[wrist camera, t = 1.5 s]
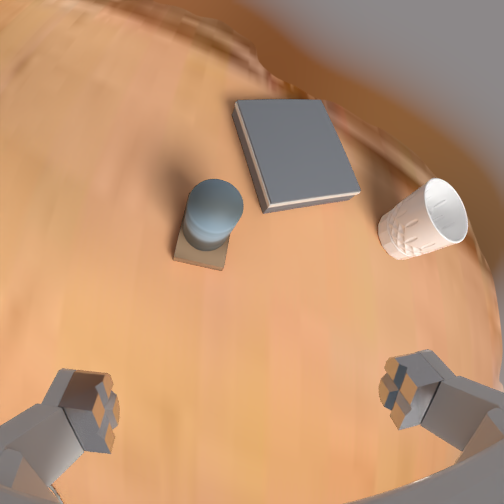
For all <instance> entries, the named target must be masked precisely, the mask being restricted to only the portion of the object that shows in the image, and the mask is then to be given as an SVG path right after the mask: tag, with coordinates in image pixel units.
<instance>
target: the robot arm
mask: <svg viewBox="0 0 504 504" xmlns="http://www.w3.org/2000/svg"><path fill="white" fill-rule="evenodd" d="M385 370H386V372H387V373H386V374H385V375H384V376H383V377H382V378H381V381H380V384H379V397H380V400H381V402H382V404H383V406H384V407H386V408H388V409H390V410H391V413H390V417H391V419H392V420H393V422H394V424H395V425H396V427H397V429H398V430H401V429H405V428H409V427H412V426H416V425H419V424H421V426H422V427H424V428H425V429H427V430H429V431H430V432H432V433H433V434H435V435H436V436H438V437H440V438H441V439H443V440H444V441H446V442H448V443H449V444H451V445H452V446H454V447H456V448H457V449H459V450H460V451H462V452H461V454H460V455H459V457H458V458H457V459H456V461H455V464H454V465H453V466H450V467H448V468H446V469H444V470H442V471H439V472H437V473H435V474H432V475H430V476H427V477H425V478H422V479H420V480H417V481H415V482H412V483H409V484H407V485H404V486H401V487H398V488H395V489H392V490H389V491H386V492H383V493H380V494H377V495H374V496H370V497H367V498H363V499H360V500H356V501H352V502H348V503H344V504H504V393H503V392H500V391H498V390H495V389H492V388H490V387H487V386H485V385H482V384H479V383H477V382H474V381H472V380H469V379H467V378H464V377H462V376H457V377H456V376H455V375H454V373H453V372H452V371H451V370H450V369H449V368H448V367H447V366H446V365H445V364H444V363H443V362H442V361H441V360H440V358H439V357H438V356H437V355H436V354H435V353H434V352H433V351H431V350H429V349H427V350H423V351H418V352H415V353H411V354H406V355H401V356H396V357H390V358H389V359H388V360H387V362H386V365H385ZM112 387H113V381H112V378H111V375H110V374H108V373H101V372H92V371H83V370H72V369H64V368H62V369H60V370H59V371H58V373H57V375H56V377H55V378H54V380H53V382H52V384H51V386H50V388H49V390H48V392H47V394H46V396H45V398H44V399H43V401H42V403H41V404H35V405H34V406H32V407H30V408H29V409H27V410H25V411H24V412H22V413H21V414H19V415H17V416H16V417H14V418H12V419H11V420H9V421H7V422H6V423H4V424H2V425H1V426H0V504H61V503H60V502H59V500H58V499H57V498H56V497H55V495H54V494H53V493H52V492H51V491H50V490H49V488H48V487H49V486H50V485H51V484H52V483H53V482H54V481H55V480H56V479H57V478H58V477H59V476H60V475H61V474H62V473H64V472H65V471H66V470H67V469H68V468H69V467H70V466H71V465H72V464H73V463H74V462H75V461H76V460H77V459H78V458H79V457H80V456H81V455H82V454H83V453H84V451H90V452H98V453H108V454H111V452H112V447H113V443H114V439H115V435H114V433H113V429H114V428H115V427H116V426H117V425H118V422H119V415H120V407H119V401H118V398H117V395H116V394H115V393H114V392H113V391H112Z"/></svg>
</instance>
